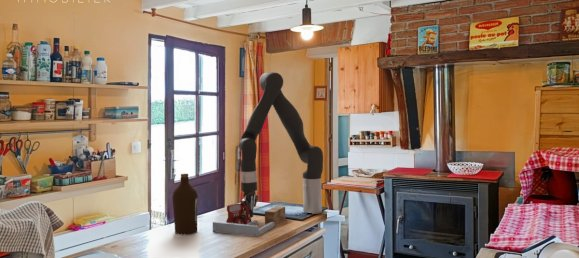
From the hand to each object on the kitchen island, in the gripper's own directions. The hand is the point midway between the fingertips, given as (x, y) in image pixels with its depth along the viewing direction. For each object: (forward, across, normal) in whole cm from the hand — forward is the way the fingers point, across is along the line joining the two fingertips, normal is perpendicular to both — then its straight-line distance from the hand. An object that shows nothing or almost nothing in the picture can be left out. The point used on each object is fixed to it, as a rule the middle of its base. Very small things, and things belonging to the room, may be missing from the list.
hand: (250, 217), depth 215 cm
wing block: (+2, +3, -11) cm, 12 cm away
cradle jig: (+2, -13, -4) cm, 14 cm away
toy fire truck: (+2, -10, 0) cm, 10 cm away
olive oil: (+1, -26, +17) cm, 31 cm away
